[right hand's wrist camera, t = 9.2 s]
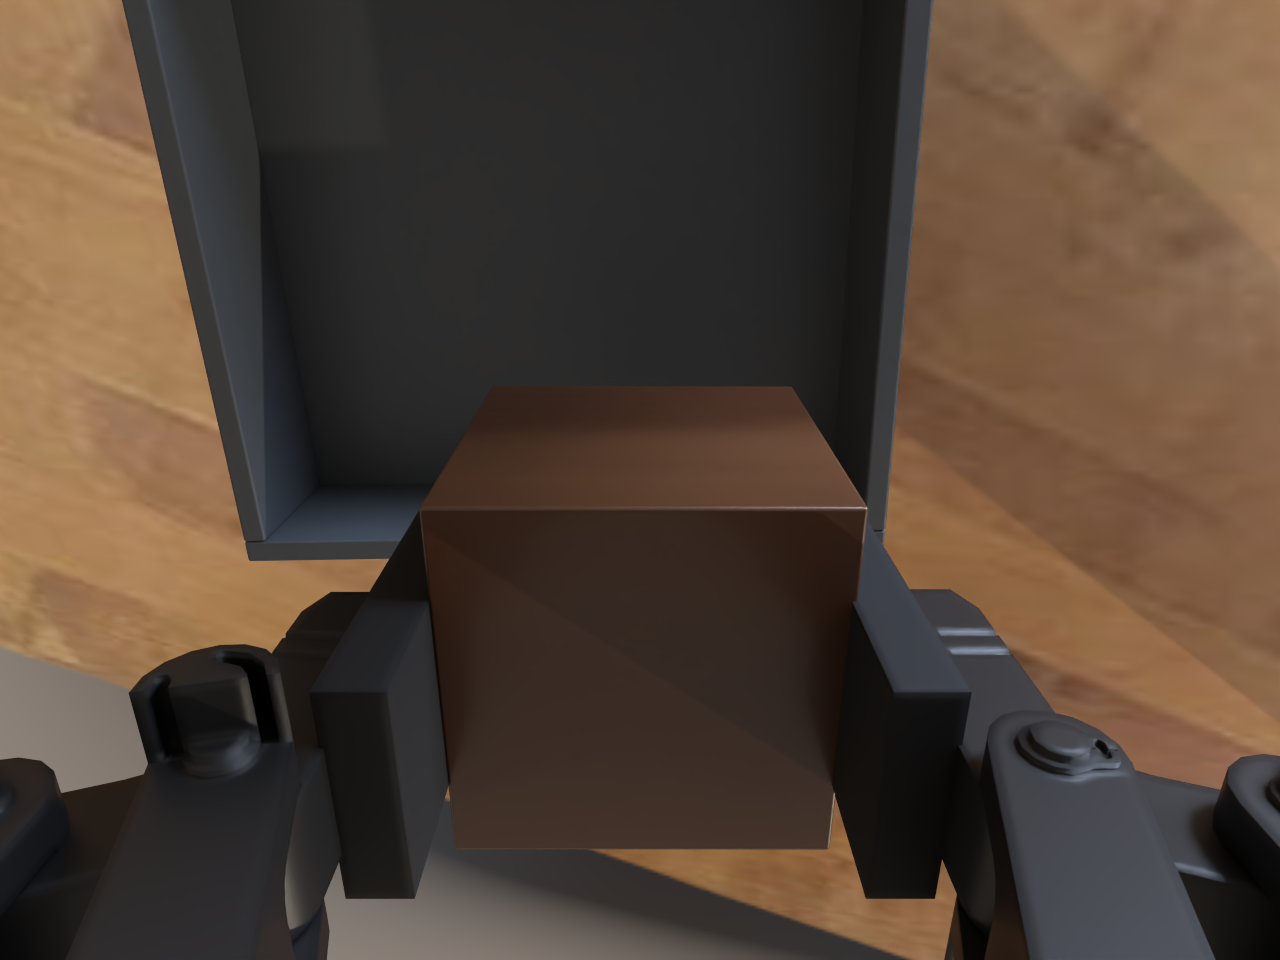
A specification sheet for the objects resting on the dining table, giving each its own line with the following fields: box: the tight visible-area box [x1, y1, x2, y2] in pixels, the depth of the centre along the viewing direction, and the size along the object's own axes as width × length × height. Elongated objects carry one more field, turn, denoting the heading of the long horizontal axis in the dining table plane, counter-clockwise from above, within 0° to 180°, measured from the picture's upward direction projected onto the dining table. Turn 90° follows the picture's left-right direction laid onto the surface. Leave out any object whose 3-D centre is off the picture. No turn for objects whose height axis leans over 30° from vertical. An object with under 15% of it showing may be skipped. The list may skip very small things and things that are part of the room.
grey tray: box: [122, 0, 933, 561], centre depth 18 cm, size 23×17×10 cm
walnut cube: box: [419, 386, 868, 849], centre depth 12 cm, size 5×5×5 cm
